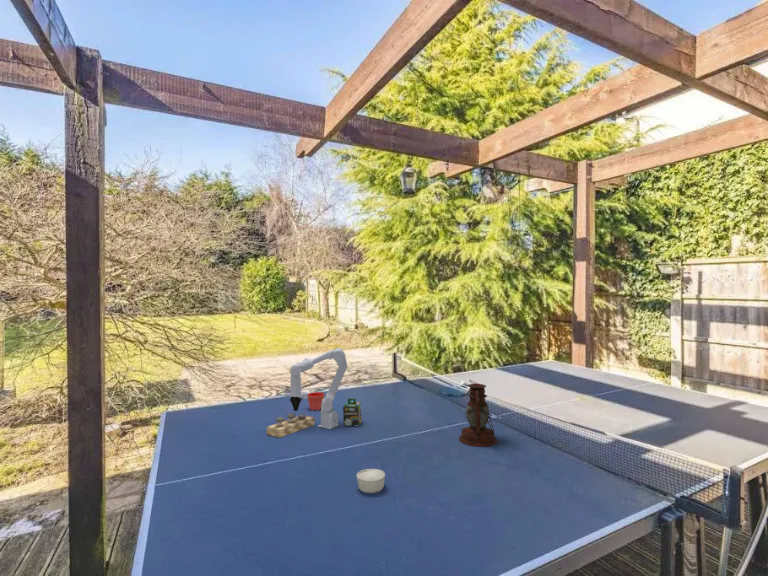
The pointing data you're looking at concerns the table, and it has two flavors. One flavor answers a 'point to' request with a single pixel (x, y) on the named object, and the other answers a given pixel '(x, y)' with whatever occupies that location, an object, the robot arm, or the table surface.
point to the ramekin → (370, 480)
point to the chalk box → (352, 413)
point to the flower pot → (315, 400)
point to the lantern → (477, 419)
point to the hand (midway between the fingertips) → (295, 410)
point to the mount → (290, 426)
